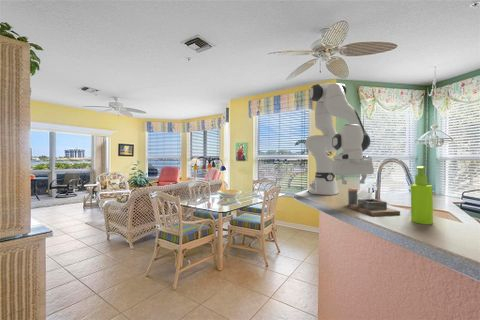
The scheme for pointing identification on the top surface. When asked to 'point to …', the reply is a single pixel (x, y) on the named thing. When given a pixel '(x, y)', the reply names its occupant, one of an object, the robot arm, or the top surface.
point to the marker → (352, 196)
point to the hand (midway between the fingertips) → (353, 183)
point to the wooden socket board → (373, 207)
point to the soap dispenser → (421, 199)
